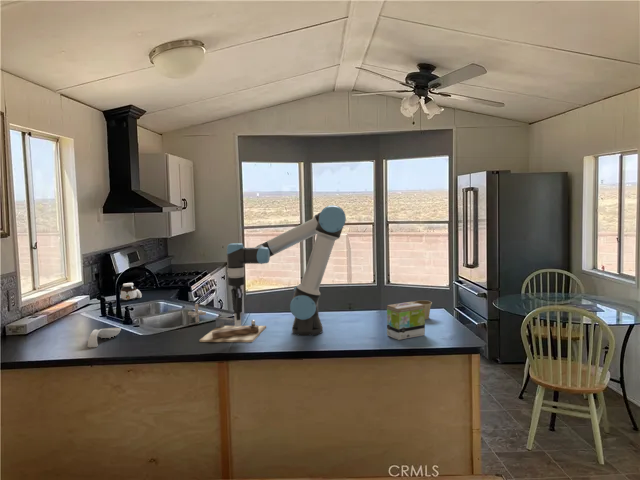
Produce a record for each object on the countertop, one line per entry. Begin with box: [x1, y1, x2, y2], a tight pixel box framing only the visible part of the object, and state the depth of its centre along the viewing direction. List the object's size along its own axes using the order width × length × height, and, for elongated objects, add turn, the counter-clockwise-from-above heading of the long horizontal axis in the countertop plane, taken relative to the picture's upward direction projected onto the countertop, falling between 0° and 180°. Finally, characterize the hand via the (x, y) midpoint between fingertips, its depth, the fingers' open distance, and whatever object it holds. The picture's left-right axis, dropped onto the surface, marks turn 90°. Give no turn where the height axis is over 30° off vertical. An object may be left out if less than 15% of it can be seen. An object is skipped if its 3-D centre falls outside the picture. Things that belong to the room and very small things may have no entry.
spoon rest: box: [87, 327, 122, 348], centre depth 234 cm, size 24×12×7 cm, turn 1°
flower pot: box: [414, 300, 433, 320], centre depth 252 cm, size 9×9×9 cm
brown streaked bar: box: [212, 324, 259, 339], centre depth 230 cm, size 22×5×3 cm, turn 114°
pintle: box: [251, 319, 256, 326], centre depth 233 cm, size 2×2×3 cm
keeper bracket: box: [215, 316, 235, 328], centre depth 245 cm, size 11×3×5 cm, turn 56°
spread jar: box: [120, 282, 143, 302], centre depth 336 cm, size 12×11×12 cm
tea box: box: [386, 301, 426, 341], centre depth 221 cm, size 15×10×15 cm
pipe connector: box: [187, 304, 207, 324], centre depth 262 cm, size 10×10×10 cm
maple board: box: [199, 325, 267, 343], centre depth 235 cm, size 26×25×1 cm
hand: (238, 326), depth 223 cm, fingers closed
